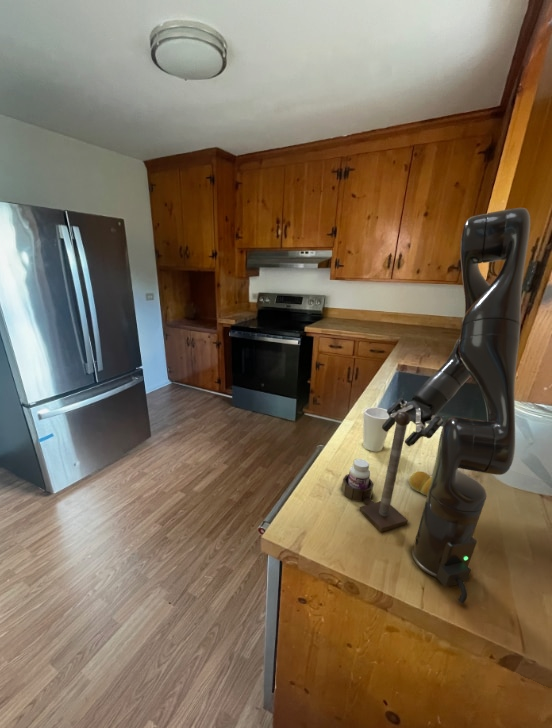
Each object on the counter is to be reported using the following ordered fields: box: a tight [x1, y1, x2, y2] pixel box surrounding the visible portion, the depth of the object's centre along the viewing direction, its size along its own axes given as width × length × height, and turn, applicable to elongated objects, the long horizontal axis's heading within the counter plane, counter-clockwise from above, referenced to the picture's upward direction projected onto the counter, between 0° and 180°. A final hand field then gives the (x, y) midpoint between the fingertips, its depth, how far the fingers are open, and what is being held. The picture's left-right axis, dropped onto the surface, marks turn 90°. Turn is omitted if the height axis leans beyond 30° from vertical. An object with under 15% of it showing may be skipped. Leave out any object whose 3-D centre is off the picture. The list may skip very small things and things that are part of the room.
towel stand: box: [341, 412, 412, 533], centre depth 82 cm, size 18×8×29 cm, turn 21°
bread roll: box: [407, 471, 432, 497], centre depth 93 cm, size 8×9×4 cm
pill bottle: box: [348, 458, 371, 490], centre depth 90 cm, size 5×5×10 cm
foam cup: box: [362, 406, 390, 452], centre depth 113 cm, size 10×9×13 cm
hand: (394, 436), depth 89 cm, fingers open, 8 cm apart
